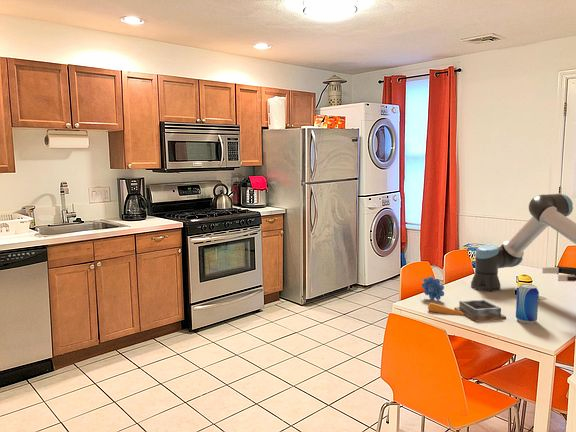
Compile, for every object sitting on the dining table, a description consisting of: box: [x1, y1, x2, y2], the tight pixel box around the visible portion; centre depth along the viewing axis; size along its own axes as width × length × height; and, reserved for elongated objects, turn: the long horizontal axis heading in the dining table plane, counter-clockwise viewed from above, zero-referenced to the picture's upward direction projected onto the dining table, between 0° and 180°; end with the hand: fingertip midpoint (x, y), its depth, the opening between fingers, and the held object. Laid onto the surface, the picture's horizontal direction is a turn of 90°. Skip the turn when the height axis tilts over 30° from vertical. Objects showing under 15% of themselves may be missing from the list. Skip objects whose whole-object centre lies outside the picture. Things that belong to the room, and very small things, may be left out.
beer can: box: [515, 283, 540, 325], centre depth 198 cm, size 8×8×16 cm
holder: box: [453, 299, 507, 322], centre depth 208 cm, size 16×16×4 cm
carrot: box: [427, 302, 464, 316], centre depth 209 cm, size 20×4×4 cm, turn 66°
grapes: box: [421, 275, 445, 301], centre depth 229 cm, size 12×7×12 cm, turn 55°
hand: (550, 274), depth 196 cm, fingers open, 13 cm apart
